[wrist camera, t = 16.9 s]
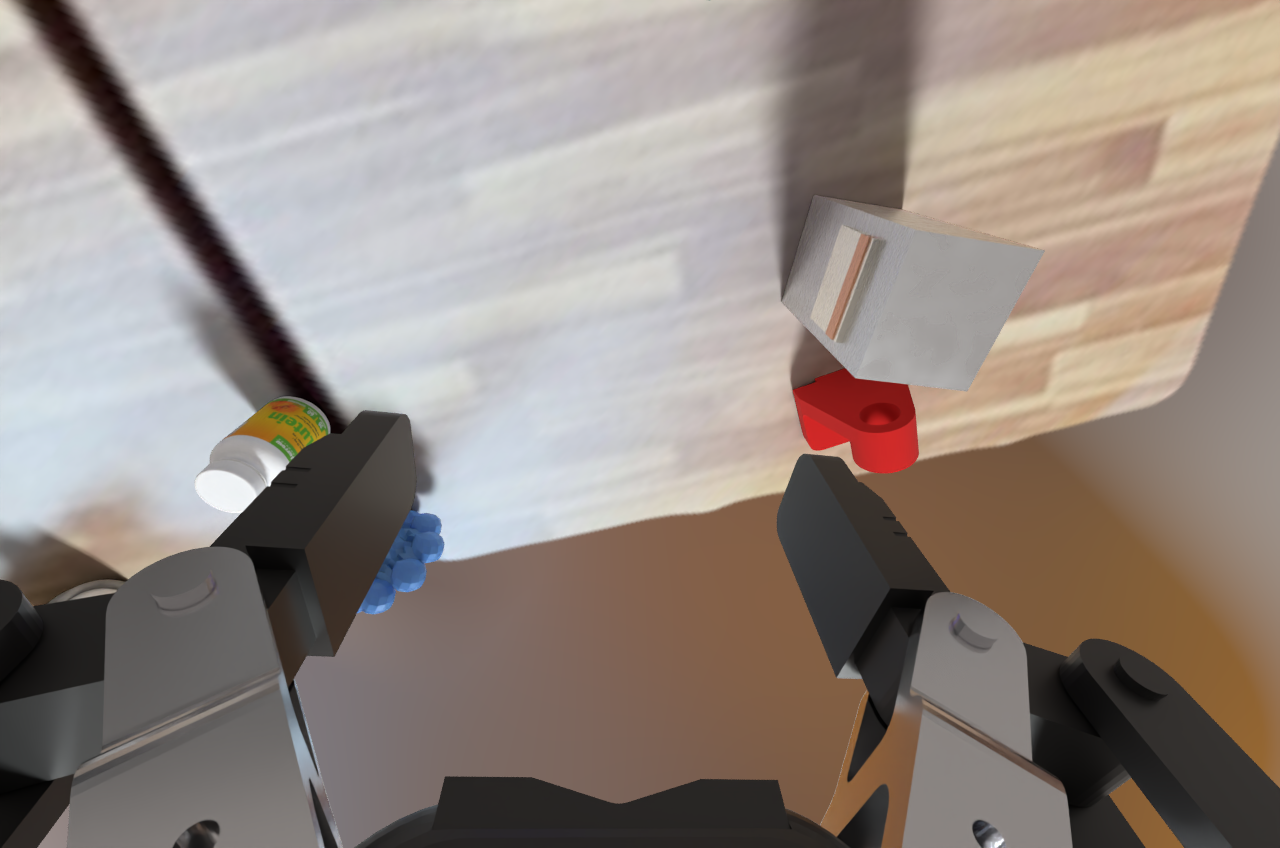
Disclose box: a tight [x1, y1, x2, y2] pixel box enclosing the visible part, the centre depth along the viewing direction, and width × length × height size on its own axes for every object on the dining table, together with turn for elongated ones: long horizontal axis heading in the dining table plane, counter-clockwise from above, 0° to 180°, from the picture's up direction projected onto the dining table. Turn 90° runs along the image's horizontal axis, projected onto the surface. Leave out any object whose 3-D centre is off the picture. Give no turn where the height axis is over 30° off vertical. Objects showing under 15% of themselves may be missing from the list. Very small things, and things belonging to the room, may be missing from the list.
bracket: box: [793, 368, 919, 473], centre depth 41 cm, size 9×6×10 cm
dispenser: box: [782, 195, 1045, 391], centre depth 32 cm, size 8×8×14 cm
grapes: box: [357, 510, 444, 614], centre depth 43 cm, size 12×7×12 cm, turn 111°
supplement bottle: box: [195, 396, 330, 513], centre depth 39 cm, size 5×5×10 cm
